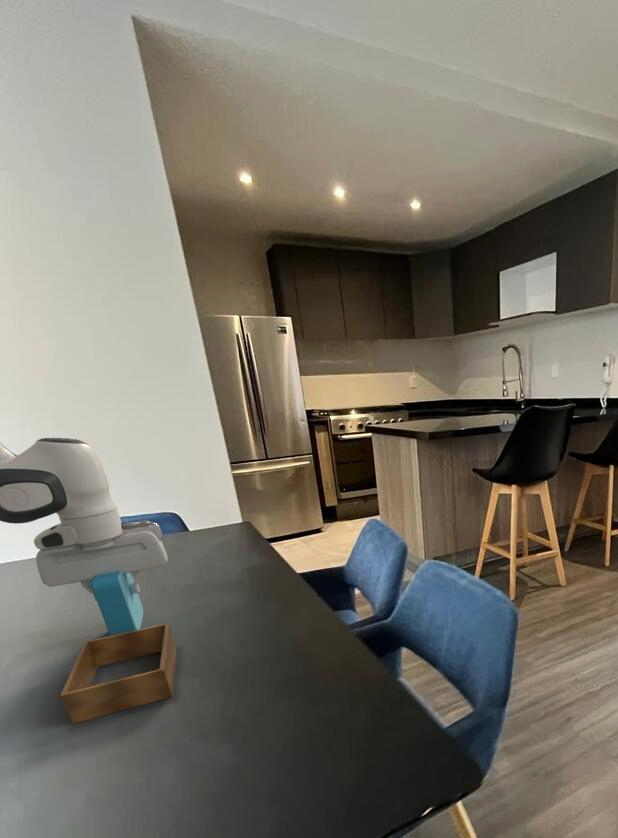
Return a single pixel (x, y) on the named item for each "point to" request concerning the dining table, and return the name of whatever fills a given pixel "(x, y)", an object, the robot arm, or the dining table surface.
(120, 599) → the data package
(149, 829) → the dining table surface
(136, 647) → the wooden box
